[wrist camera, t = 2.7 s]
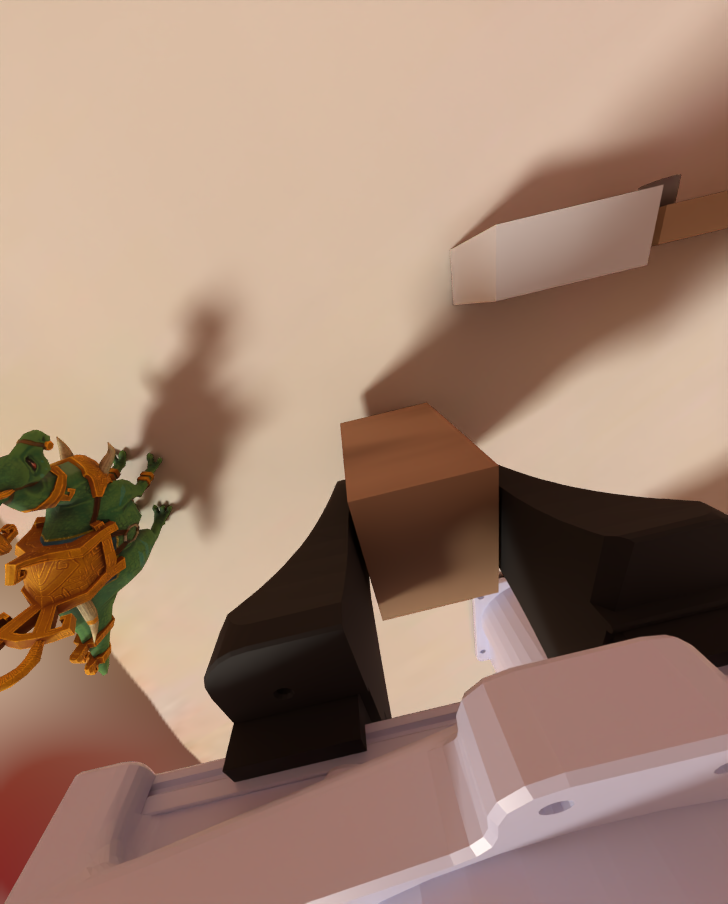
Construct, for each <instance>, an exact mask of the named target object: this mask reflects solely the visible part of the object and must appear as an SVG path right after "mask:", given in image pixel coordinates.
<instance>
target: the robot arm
mask: <svg viewBox="0 0 728 904" xmlns="http://www.w3.org/2000/svg"><path fill="white" fill-rule="evenodd" d="M499 568H500V570H501V572H502V573H503V575H504V577H503V578H499V592H498V593H494V594H490V595H486V596H482V597H478V598H474V599H473V617H474V634H475V652H476V657H477V659H478V660H479V661H486V660H491V662H492V665H493V667H494V669H495V671H496V673H495V674H493V675H490V676H488V677H485V678H483V679H481V680H480V681H479V682H478V683H476V684H475V685H474V686H473V687H471V688H470V689H469V690H468V691H466V692H465V693H464V696H463V698H462V701H461V702H458V703H454V704H450V705H445V706H441V707H437V708H433V709H429V710H424V711H420V712H416V713H412V714H408V715H403V716H399V717H395V718H392V717H391V712H390V706H389V701H388V695H387V690H386V684H385V678H384V672H383V666H382V661H381V655H380V649H379V643H378V637H377V631H376V625H375V619H374V613H373V606H372V600H371V592H370V580H369V573H368V569H367V566H366V563H365V559H364V556H363V552H362V549H361V546H360V542H359V539H358V536H357V532H356V529H355V526H354V522H353V519H352V516H351V512H350V509H349V505H348V502H347V491H346V480H341V481H338V482H337V484H336V486H335V488H334V491H333V493H332V495H331V497H330V499H329V502H328V504H327V505H326V507H325V509H324V511H323V513H322V515H321V517H320V518H319V520H318V522H317V523H316V525H315V527H314V528H313V530H312V531H311V533H310V534H309V536H308V537H307V539H306V540H305V541H304V543H303V544H302V545H301V547H300V548H299V549H298V550H297V551H296V552H295V554H294V555H293V556H292V557H291V558H290V559H289V560H288V561H287V563H286V564H285V565H284V566H283V567H282V568H281V569H280V570H279V571H278V572H277V573H276V574H275V575H274V576H273V577H272V578H271V579H270V580H269V581H267V582H266V583H265V584H264V585H263V586H262V587H261V588H260V589H259V590H257V591H256V592H255V593H254V594H253V595H251V596H250V597H249V598H248V599H246V600H245V601H244V602H243V603H242V604H240V605H239V606H238V607H237V608H235V609H234V610H233V611H231V612H230V613H229V614H228V615H227V617H226V620H225V622H224V624H223V627H222V629H221V631H220V634H219V637H218V639H217V642H216V645H215V648H214V651H213V654H212V657H211V659H210V662H209V665H208V668H207V671H206V674H205V676H204V684H205V689H206V690H207V692H208V694H209V695H210V697H211V698H212V700H213V701H214V702H215V703H216V704H217V705H218V706H219V707H220V708H221V710H222V711H223V712H224V713H225V714H226V715H227V716H228V717H229V718H230V719H231V721H232V722H233V723H234V725H233V729H232V733H231V737H230V742H229V746H228V750H227V754H226V758H223V759H219V760H215V761H210V762H206V763H202V764H198V765H194V766H189V767H185V768H181V769H177V770H173V771H168V772H164V773H160V774H156V775H155V774H154V772H153V771H152V770H151V769H150V768H149V767H148V766H147V765H145V764H142V763H140V762H132V761H131V762H123V763H118V764H114V765H110V766H105V767H101V768H98V769H93V770H89V771H85V772H81V773H80V774H78V775H77V776H76V777H75V778H74V780H73V782H72V784H71V785H70V787H69V789H68V791H67V793H66V794H65V796H64V798H63V800H62V801H61V803H60V805H59V807H58V809H57V810H56V812H55V814H54V816H53V817H52V819H51V821H50V823H49V825H48V826H47V828H46V830H45V832H44V834H43V835H42V837H41V839H40V841H39V842H38V844H37V846H36V848H35V850H34V851H33V853H32V855H31V857H30V859H29V860H28V862H27V864H26V866H25V867H24V869H23V871H22V873H21V875H20V877H19V878H18V880H17V882H16V883H15V885H14V887H13V889H12V891H11V892H10V894H9V896H8V898H7V900H6V902H5V903H4V904H728V515H726V514H724V513H722V512H720V511H718V510H717V509H715V508H713V507H711V506H709V505H707V504H705V503H703V502H700V501H685V500H671V499H656V498H644V497H635V496H626V495H618V494H611V493H604V492H597V491H592V490H586V489H581V488H575V487H571V486H566V485H562V484H558V483H554V482H550V481H546V480H542V479H538V478H535V477H532V476H529V475H526V474H523V473H520V472H516V471H514V470H511V469H508V468H505V467H503V466H500V465H499Z"/></svg>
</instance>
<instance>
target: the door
mask: <svg viewBox="0 0 728 904" xmlns="http://www.w3.org/2000/svg"><path fill="white" fill-rule="evenodd" d="M680 178H681V174H680V175H675V176H671V177H668V178H664V179H661V180H658V181H655V182H652V183H650V184H647V185H645V186H642V187H640V188H639V189H638V191H639V190H643V189H647V188H652V187H656V186H660V185H664V186H663V191H662V196H661V200H660V205H659V210H658V215H657V220H656V225H655V230H654V234H653V239H652V244H651V246H655V245H659V244H663V243H668V242H672V241H676V240H680V239H684V238H688V237H693V236H697V235H701V234H705V233H709V232H714V231H718V230H722V229H726V228H728V191H723V192H719V193H715V194H711V195H707V196H703V197H698V198H694V199H690V200H686V201H682V202H677V203H675V201H676V196H677V192H678V187H679V183H680Z"/></svg>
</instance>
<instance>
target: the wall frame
mask: <svg viewBox="0 0 728 904" xmlns="http://www.w3.org/2000/svg"><path fill="white" fill-rule="evenodd" d="M663 186H664V185H660V186H656V187H652V188H647V189H643V190H639V191H635V192H631V193H626V194H622V195H618V196H614V197H610V198H605V199H601V200H597V201H593V202H589V203H584V204H580V205H576V206H572V207H568V208H564V209H559V210H555V211H551V212H547V213H543V214H538V215H534V216H530V217H526V218H522V219H517V220H513V221H509V222H505V223H501V224H496V225H494V226H493V227H491V228H489V229H487V230H485V231H484V232H482V233H480V234H478V235H476V236H474V237H473V238H471V239H469V240H467V241H465V242H464V243H462V244H460V245H458V246H456V247H455V248H453V249H451V250H450V259H451V275H452V292H453V305H461V304H472V303H483V302H495V301H500V300H504V299H508V298H512V297H516V296H521V295H525V294H529V293H533V292H537V291H541V290H546V289H550V288H554V287H558V286H562V285H566V284H571V283H575V282H579V281H583V280H587V279H592V278H596V277H600V276H604V275H608V274H612V273H617V272H621V271H625V270H629V269H633V268H638V267H642V266H646V265H647V264H648V259H649V254H650V249H651V244H652V239H653V234H654V230H655V225H656V220H657V215H658V210H659V205H660V200H661V196H662V191H663Z"/></svg>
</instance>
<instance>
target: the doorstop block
mask: <svg viewBox="0 0 728 904" xmlns="http://www.w3.org/2000/svg"><path fill="white" fill-rule="evenodd" d="M340 426H341V437H342V448H343V458H344V469H345V480H346V491H347V502H348V505H349V509H350V512H351V516H352V519H353V522H354V526H355V529H356V532H357V536H358V539H359V542H360V546H361V549H362V552H363V556H364V559H365V563H366V566H367V569H368V573H369V576H370V579H371V583H372V586H373V589H374V593H375V596H376V599H377V603H378V606H379V609H380V613H381V616H382V620H383V621H384V620H388V619H392V618H396V617H400V616H404V615H408V614H412V613H416V612H420V611H425V610H429V609H433V608H437V607H441V606H445V605H449V604H453V603H457V602H461V601H465V600H469V599H474V598H478V597H482V596H486V595H490V594H494V593H498V592H499V465H498V464H496V463H495V462H494V461H493V460H492V459H491V458H490V457H488V456H487V455H486V454H485V453H484V452H483V451H482V450H481V449H479V448H478V447H477V446H476V445H475V444H474V443H473V442H471V441H470V440H469V439H468V438H467V437H466V436H465V435H463V434H462V433H461V432H460V431H459V430H458V429H457V428H455V427H454V426H453V425H452V424H451V423H450V422H449V421H448V420H446V419H445V418H444V417H443V416H442V415H441V414H440V413H438V412H437V411H436V410H435V409H434V408H433V407H432V406H430V405H429V404H428V403H423V404H419V405H414V406H410V407H406V408H402V409H398V410H394V411H390V412H386V413H381V414H377V415H373V416H369V417H365V418H361V419H357V420H353V421H348V422H344V423H340Z"/></svg>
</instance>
